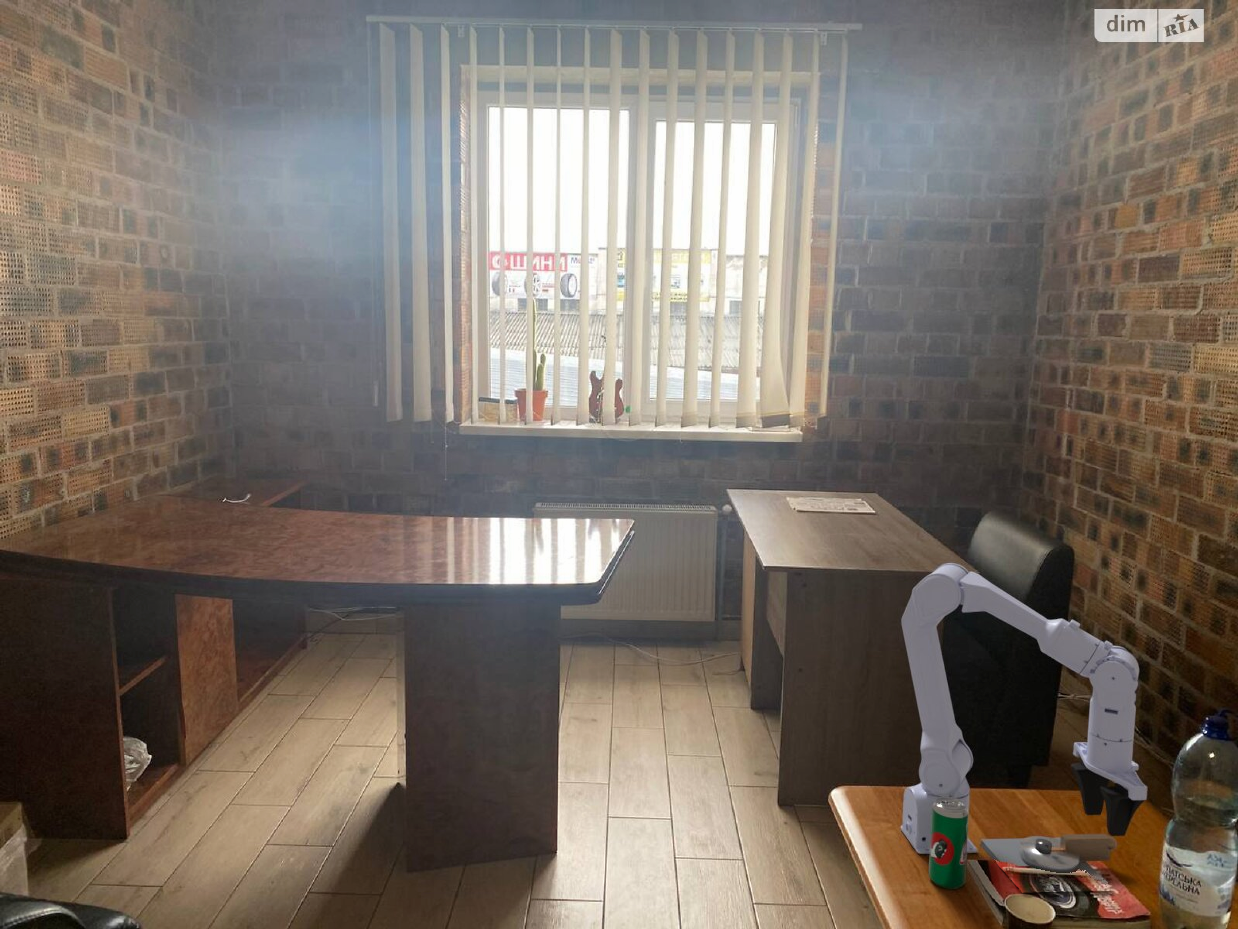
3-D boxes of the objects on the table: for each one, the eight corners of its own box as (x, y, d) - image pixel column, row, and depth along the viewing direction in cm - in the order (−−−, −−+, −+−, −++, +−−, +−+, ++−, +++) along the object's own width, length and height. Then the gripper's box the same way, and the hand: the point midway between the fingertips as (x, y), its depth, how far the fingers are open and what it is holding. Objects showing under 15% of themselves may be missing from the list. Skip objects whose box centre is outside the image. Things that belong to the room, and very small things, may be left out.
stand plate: (1021, 893, 128) (1022, 886, 128) (980, 845, 141) (980, 838, 141) (1109, 891, 128) (1110, 884, 128) (1060, 843, 141) (1061, 837, 141)
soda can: (968, 893, 128) (972, 813, 127) (931, 889, 129) (934, 809, 127) (961, 873, 133) (965, 797, 131) (926, 869, 134) (929, 793, 132)
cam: (1037, 875, 130) (1038, 852, 130) (1010, 845, 138) (1011, 824, 138) (1131, 872, 131) (1132, 850, 131) (1099, 844, 139) (1100, 822, 139)
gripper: (1171, 755, 120) (1164, 850, 122) (1107, 714, 135) (1101, 799, 136) (1120, 756, 120) (1114, 851, 122) (1062, 714, 134) (1056, 800, 136)
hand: (1104, 824), depth 129 cm, fingers open, 5 cm apart
